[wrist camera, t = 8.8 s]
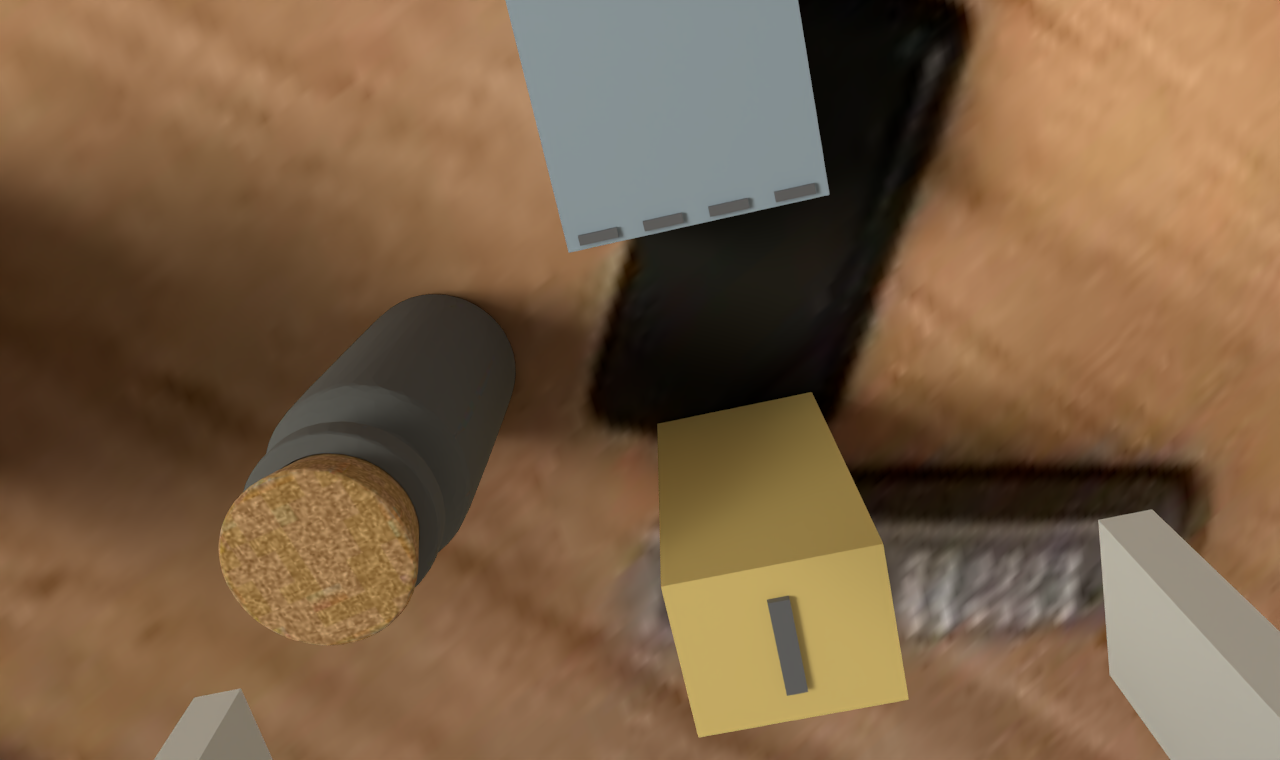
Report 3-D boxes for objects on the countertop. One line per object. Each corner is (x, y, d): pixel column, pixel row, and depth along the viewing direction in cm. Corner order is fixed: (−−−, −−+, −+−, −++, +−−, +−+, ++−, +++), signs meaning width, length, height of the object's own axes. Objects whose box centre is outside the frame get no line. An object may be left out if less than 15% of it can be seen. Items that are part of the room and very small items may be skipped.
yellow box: (657, 423, 38) (661, 590, 26) (811, 391, 37) (884, 547, 26) (683, 537, 39) (698, 741, 28) (832, 508, 39) (910, 703, 27)
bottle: (504, 284, 36) (416, 435, 22) (527, 430, 38) (458, 656, 24) (349, 300, 37) (163, 460, 22) (379, 445, 38) (225, 678, 24)
